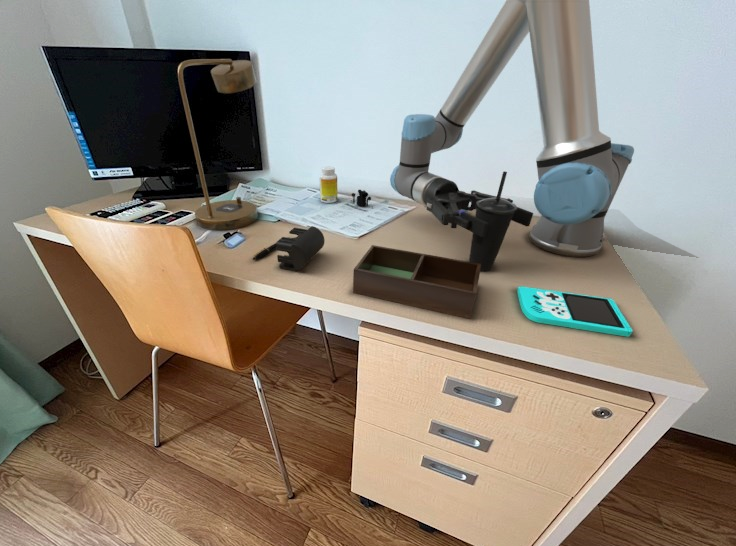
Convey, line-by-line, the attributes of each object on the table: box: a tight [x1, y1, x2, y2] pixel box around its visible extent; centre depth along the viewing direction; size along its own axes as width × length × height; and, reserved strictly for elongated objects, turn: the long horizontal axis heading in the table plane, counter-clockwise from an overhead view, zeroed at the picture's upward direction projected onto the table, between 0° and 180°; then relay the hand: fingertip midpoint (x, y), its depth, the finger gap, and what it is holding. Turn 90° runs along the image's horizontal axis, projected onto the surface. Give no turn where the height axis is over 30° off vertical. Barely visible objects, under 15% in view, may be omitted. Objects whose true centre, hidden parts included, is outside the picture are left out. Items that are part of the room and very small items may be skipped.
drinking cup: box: [468, 171, 518, 272], centre depth 70 cm, size 8×8×20 cm
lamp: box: [177, 58, 258, 231], centre depth 93 cm, size 17×27×38 cm, turn 157°
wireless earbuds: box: [351, 189, 372, 208], centre depth 106 cm, size 7×2×5 cm, turn 54°
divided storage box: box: [352, 244, 481, 319], centre depth 66 cm, size 11×22×5 cm, turn 67°
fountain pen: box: [252, 236, 291, 261], centre depth 83 cm, size 14×1×2 cm, turn 150°
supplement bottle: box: [319, 166, 338, 204], centre depth 109 cm, size 6×6×10 cm
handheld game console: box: [516, 285, 633, 338], centre depth 61 cm, size 10×16×1 cm, turn 73°
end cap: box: [275, 225, 325, 272], centre depth 76 cm, size 10×7×7 cm
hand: (508, 225), depth 66 cm, fingers open, 11 cm apart
